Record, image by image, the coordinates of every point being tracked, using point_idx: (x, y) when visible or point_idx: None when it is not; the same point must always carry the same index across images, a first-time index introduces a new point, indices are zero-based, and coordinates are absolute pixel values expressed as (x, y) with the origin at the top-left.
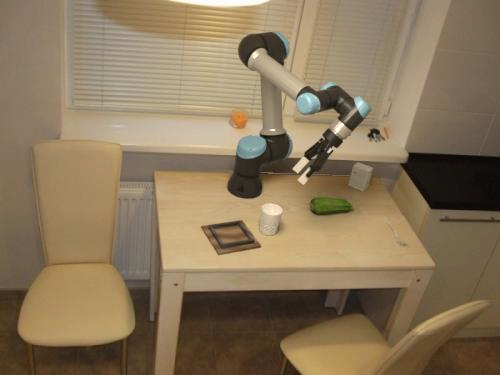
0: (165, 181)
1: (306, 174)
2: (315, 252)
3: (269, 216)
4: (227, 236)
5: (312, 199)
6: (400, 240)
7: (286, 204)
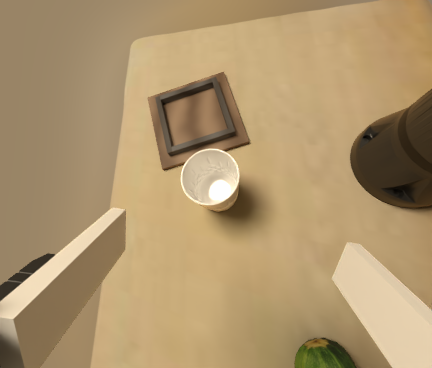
0: (382, 10)
1: (47, 261)
2: (140, 286)
3: (186, 168)
4: (192, 112)
5: (341, 357)
6: None
7: None
